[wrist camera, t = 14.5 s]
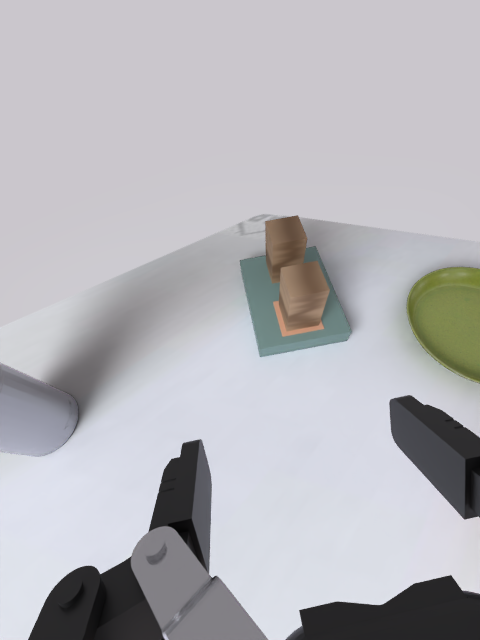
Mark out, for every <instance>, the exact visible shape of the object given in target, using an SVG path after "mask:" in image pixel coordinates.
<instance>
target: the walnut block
mask: <svg viewBox="0 0 480 640" xmlns="http://www.w3.org/2000/svg"><path fill="white" fill-rule="evenodd" d="M329 291H330V289H329V287H328V285H327V282H326V280H325V277H324V275H323V273H322V270H321V268H320V266H319V263H318V261H313V262H308V263H302V264H297V265H292V266H287V267H282V268H281V272H280V290H279V308H280V311H281V314H282V318H283V321H284V325H285V328H286V331H292V330H297V329H303V328H308V327H313V326H318V325H319V323H320V320H321V317H322V314H323V310H324V307H325V304H326V301H327V298H328V294H329Z"/></svg>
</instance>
